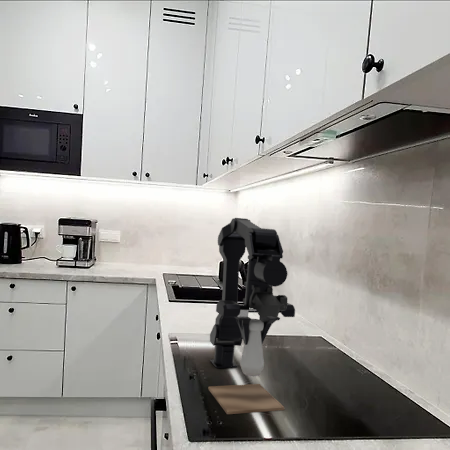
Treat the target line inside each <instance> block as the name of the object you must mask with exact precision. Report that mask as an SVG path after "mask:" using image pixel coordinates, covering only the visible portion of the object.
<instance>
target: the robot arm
mask: <svg viewBox="0 0 450 450" xmlns="http://www.w3.org/2000/svg"><path fill="white" fill-rule="evenodd" d="M279 236H280V235H279V234H278V232H277V230H276V229H274V228H273V229H272V228H264V227H263V228H262V227H260V226H258V225H257V224H255V223H253V222H252V221H251V220H250V219H248V218H244V217H242V218H241V217H234V218H232V219H231V221H230V222H229V223H228V224H226V225H225V226H223V227H222V228H221V229H220V231H219V234H218V236H217V245H218V252H219V254H220V256H221V258H222V259H223V273H222V290H221V291H222V292H221V296H222V297H221V299H219V301H217V303H216V306H215V312H216V313H217V316H216V317H215V321H214V324H213V326H212V328H211V331H210V333H209V342H210V344H211V345H212V346H214V347H215V348H214V358H211V359H210V360H209V361H210V362H211V364H212V365H213V366H214V367H215V368H217V369H226V368H238V365H237V364H236V363H235V361H234V360H235V359H234V358H235V348H236V347H235V346H239V347H241V346H242V343H243V344H244V345H247V344H248V334H249V322H250V320H251V319H252V317H250V316H249V314H250V313H252V314H253V313H257V314H258V316H259V320H261V321H263V322H264V328H263V330H262V331H261V341H262V345H263V343H264V341H265V339H266V337H267V334H268V333H269V330H270V329H271V327H272V325H273V324H274V323H275V322H276V321H277V322H278V321H280V320H281V317H279V313H280V314H281V316H282V317H284V318H295V316H296V308H295V306H294V305H293V304H292V303H289V302H288V297H287V296H286V295H285V294H278V295H274V292H273V291H274V288H273V287H280V286H282V285H283V284H284V282H285V281H286V279H287V278H288V270H287V267H286V265H285V264H284V263H283V262H282V261H281V259H283V257H284V255H283V253H284V249H283V247H282V243H281V240H280V237H279ZM246 250H247V254H248V255H247V259H248V262H247V271H246V273H247V274H246V281H244V284H243V286H244V287H245V296H244V298H242V303H243V304H239V303H238V296H239V295H238V294H239V278H240V277H239V275H240V261H241V259H242V258H243V256H244V255H245V253H246Z"/></svg>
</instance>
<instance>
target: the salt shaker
mask: <svg viewBox="0 0 450 450" xmlns="http://www.w3.org/2000/svg"><path fill="white" fill-rule="evenodd" d="M263 328H264V322H263V321H261V320H259V319H258V318H251V320H250V322H249V334H248V344H247V345H245V344H244V346H243V349H242V354H241V358H240V361H239V365H240V368H241V371H242V374H243V375H245V376H247V377H248V376H249V377H257V376H260V375H261V373H262V371H263V370H264V366H265V360H264V351H263V344H262V341H261V331H262V330H263Z"/></svg>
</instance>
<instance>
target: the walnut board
mask: <svg viewBox="0 0 450 450" xmlns="http://www.w3.org/2000/svg"><path fill="white" fill-rule="evenodd" d="M207 389H208V391H209V392H210V393H211V395H212V396H213V397H214V399H215V400H216V402H217V403H218V404H219V405H220V407H221V408H222V409H223V411H224V412H225V413H226V415H233V414H235V415H236V414H238V415H239V414H248V413H251V414H252V413H260V412H261V413H262V412H263V413H264V412H276V411H285V406H284V405H282V403H280V401H278V400H277V399H276V398H275V397H274V396H273V395H272V394H271V393H270V392H269V391H268V390H266V388H264V387H263V386H262V385H261V384H260V383H252V384H251V383H249V384H233V385H217V386H216V385H213V386H208V388H207Z"/></svg>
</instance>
